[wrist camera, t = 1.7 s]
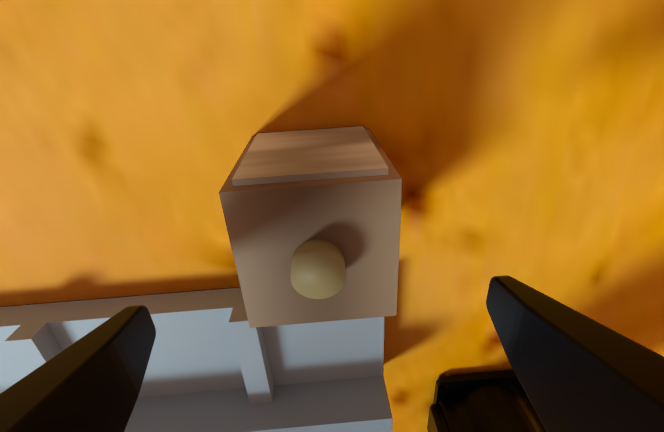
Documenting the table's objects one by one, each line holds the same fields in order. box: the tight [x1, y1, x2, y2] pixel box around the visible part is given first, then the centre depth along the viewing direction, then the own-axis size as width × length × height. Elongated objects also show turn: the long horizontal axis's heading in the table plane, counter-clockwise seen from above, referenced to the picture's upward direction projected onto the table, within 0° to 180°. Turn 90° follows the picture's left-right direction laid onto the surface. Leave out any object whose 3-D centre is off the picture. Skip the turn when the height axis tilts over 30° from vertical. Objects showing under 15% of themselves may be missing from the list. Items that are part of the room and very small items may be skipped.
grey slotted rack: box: [0, 288, 392, 432], centre depth 18 cm, size 24×7×4 cm, turn 93°
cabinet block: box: [219, 126, 402, 328], centre depth 13 cm, size 5×5×7 cm
